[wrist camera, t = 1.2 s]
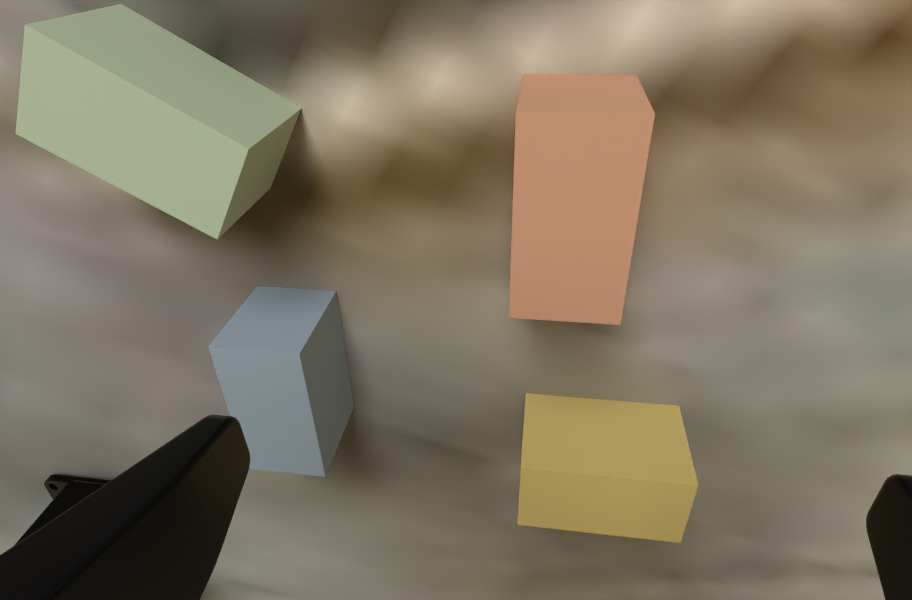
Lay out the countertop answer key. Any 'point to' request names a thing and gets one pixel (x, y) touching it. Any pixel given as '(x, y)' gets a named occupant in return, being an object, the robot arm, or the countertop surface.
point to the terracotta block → (576, 195)
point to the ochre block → (605, 468)
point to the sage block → (152, 115)
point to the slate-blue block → (286, 378)
